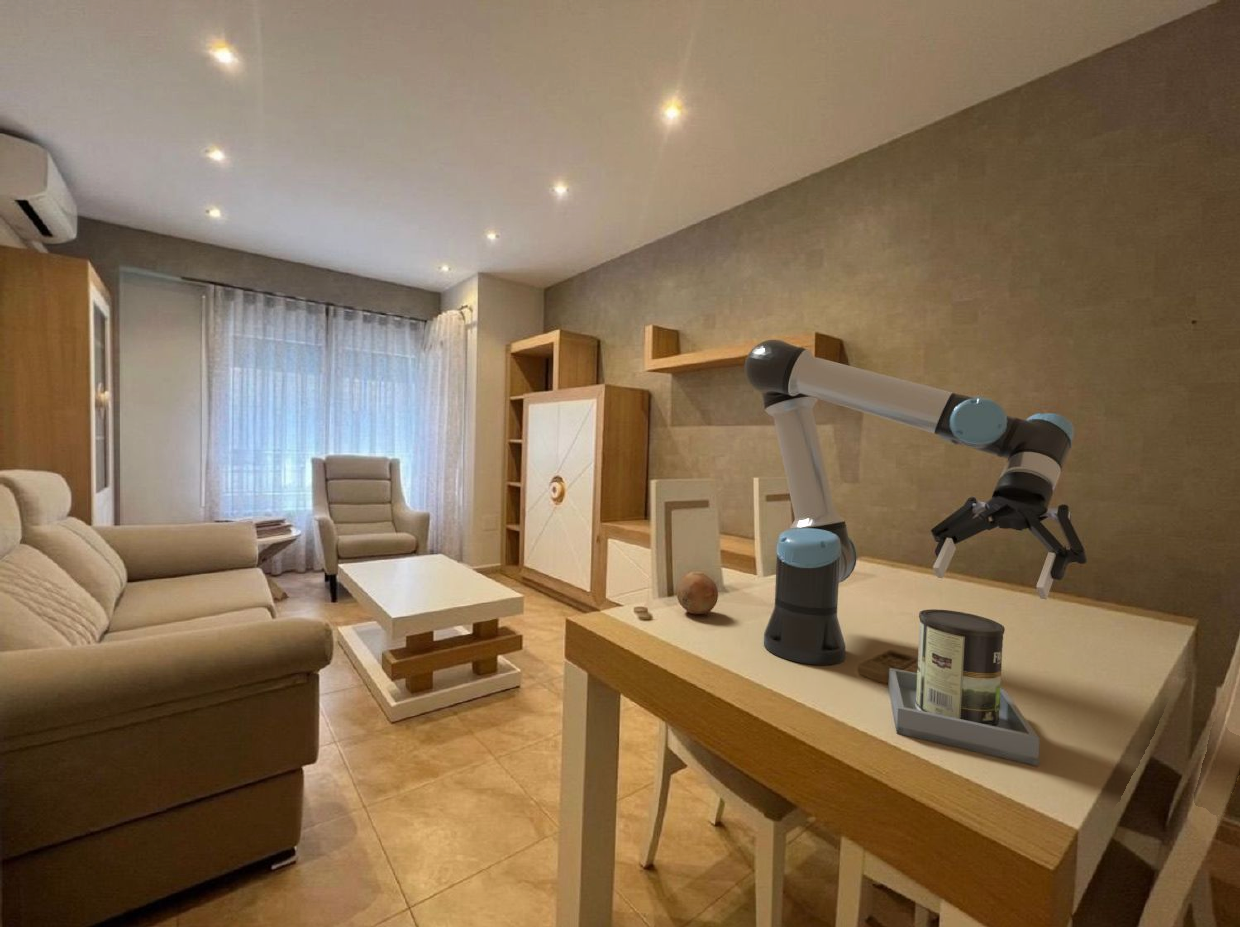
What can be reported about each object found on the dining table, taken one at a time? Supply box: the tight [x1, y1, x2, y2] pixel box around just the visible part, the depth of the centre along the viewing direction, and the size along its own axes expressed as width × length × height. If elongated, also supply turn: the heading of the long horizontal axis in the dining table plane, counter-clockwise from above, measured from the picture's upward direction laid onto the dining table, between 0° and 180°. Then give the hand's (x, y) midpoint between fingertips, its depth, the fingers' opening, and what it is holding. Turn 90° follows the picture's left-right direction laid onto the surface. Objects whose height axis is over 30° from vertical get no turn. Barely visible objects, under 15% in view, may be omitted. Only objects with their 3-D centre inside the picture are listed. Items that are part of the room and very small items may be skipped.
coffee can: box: [915, 608, 1006, 727], centre depth 74 cm, size 10×10×14 cm
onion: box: [676, 571, 719, 615], centre depth 121 cm, size 10×10×10 cm
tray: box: [887, 667, 1040, 767], centre depth 74 cm, size 16×16×4 cm
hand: (985, 582), depth 78 cm, fingers open, 13 cm apart
